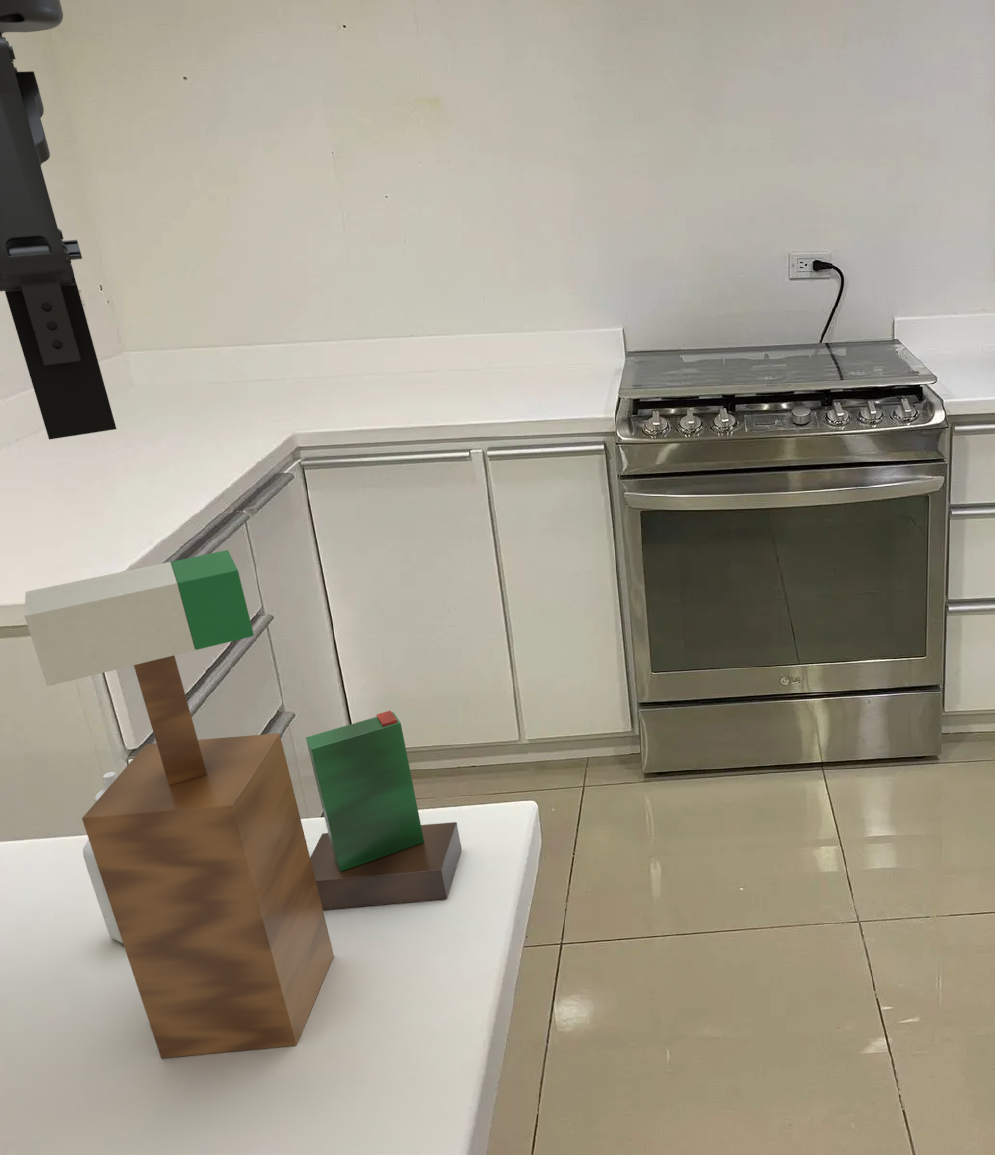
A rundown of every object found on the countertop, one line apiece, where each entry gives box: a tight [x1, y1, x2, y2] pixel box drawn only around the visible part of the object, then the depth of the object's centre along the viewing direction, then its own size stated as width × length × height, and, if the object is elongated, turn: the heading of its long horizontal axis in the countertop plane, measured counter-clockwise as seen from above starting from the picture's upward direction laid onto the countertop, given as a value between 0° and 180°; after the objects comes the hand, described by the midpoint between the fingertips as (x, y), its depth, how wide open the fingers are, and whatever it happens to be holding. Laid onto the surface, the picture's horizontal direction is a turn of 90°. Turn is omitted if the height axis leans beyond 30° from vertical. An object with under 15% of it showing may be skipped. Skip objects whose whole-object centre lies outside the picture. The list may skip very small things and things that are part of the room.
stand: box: [81, 655, 335, 1059], centre depth 67 cm, size 8×8×25 cm
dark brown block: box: [310, 821, 462, 911], centre depth 82 cm, size 10×6×2 cm, turn 94°
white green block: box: [24, 549, 254, 687], centre depth 61 cm, size 10×4×4 cm, turn 121°
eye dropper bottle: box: [82, 771, 123, 944], centre depth 77 cm, size 4×6×12 cm
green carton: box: [305, 710, 424, 872], centre depth 80 cm, size 6×2×10 cm, turn 122°
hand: (79, 408), depth 57 cm, fingers open, 13 cm apart
